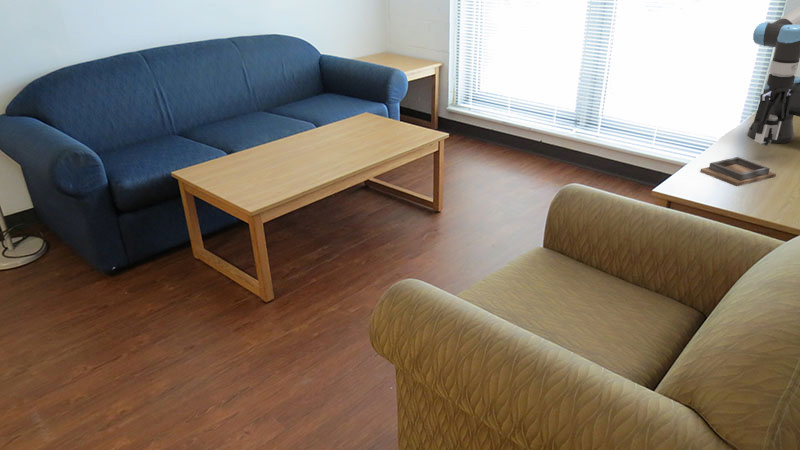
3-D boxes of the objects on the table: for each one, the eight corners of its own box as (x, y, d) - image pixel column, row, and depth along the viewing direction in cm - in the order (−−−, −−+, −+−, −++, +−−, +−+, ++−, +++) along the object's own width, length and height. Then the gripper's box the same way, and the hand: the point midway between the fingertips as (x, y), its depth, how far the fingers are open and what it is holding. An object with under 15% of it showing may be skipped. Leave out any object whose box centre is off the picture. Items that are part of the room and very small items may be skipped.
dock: (737, 163, 206) (739, 154, 205) (775, 176, 195) (777, 167, 193) (700, 171, 200) (702, 163, 198) (736, 186, 188) (739, 177, 187)
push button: (770, 148, 204) (777, 120, 200) (753, 145, 208) (759, 117, 203) (775, 143, 209) (782, 115, 204) (759, 140, 212) (765, 113, 207)
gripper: (772, 80, 191) (755, 148, 201) (812, 72, 197) (794, 138, 208) (751, 75, 197) (736, 142, 207) (791, 68, 204) (774, 132, 214)
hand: (765, 140), depth 208 cm, fingers closed on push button, 6 cm apart
